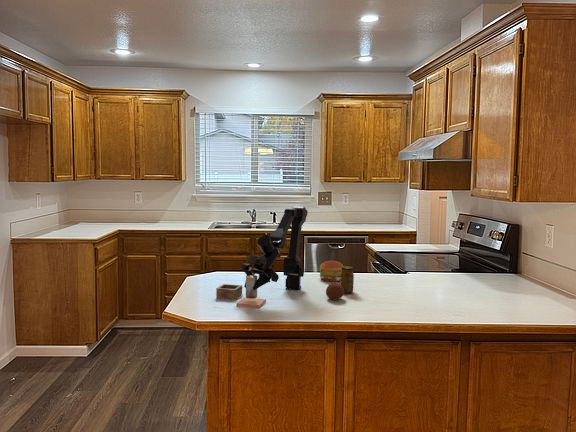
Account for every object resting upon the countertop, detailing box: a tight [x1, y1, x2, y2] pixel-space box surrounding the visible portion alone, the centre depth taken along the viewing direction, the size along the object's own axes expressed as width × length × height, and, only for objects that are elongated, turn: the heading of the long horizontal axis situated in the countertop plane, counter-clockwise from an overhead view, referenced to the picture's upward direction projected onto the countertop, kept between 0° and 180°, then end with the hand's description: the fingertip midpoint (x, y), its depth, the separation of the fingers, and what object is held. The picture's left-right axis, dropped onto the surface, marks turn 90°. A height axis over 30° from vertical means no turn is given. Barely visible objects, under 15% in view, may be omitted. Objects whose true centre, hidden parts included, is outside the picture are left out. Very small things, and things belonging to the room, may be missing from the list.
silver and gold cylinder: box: [245, 274, 258, 299], centre depth 223 cm, size 5×5×9 cm
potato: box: [325, 282, 345, 300], centre depth 235 cm, size 8×11×8 cm
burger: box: [319, 260, 345, 282], centre depth 274 cm, size 14×14×10 cm
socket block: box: [215, 283, 243, 301], centre depth 236 cm, size 9×9×4 cm
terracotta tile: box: [235, 297, 267, 309], centre depth 224 cm, size 10×10×1 cm
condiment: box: [339, 265, 358, 296], centre depth 246 cm, size 7×8×12 cm
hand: (249, 288), depth 223 cm, fingers closed on silver and gold cylinder, 5 cm apart
